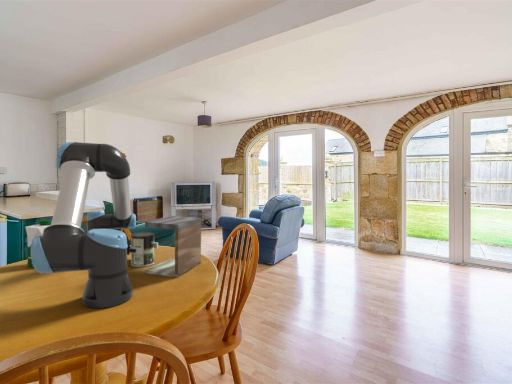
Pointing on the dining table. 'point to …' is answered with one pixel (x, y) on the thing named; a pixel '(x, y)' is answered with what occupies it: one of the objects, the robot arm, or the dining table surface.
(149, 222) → the brown piece
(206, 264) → the dining table surface
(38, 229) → the milk carton
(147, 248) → the coffee can
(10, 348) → the dining table surface
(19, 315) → the dining table surface
